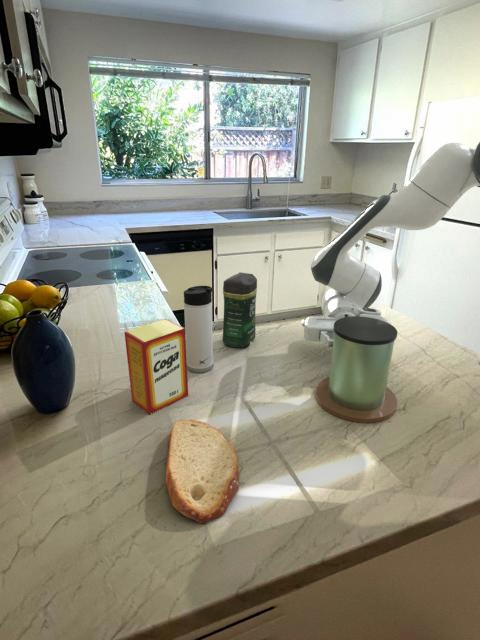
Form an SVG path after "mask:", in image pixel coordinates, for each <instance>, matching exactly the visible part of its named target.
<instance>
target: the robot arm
mask: <svg viewBox="0 0 480 640" xmlns="http://www.w3.org/2000/svg"><path fill="white" fill-rule="evenodd" d="M474 187H477V188H480V141H479V142H478V144H477V145H476V147H475V148H471V147H469V146H468V145H466V144H464V143H459V142H449V143H445V144H443V145H441V146H440V147H439V148H438V149H437V150H436V151H435V152H434V153H433V154H431V155H430V157H428V159H427V160H426V161H425V162H424V163H423V164H422V165H421V166H420V167H419V168H418V169H417V170H416V172H415V173H414V174H413V175H412V177H411V178H410V179H409V180H408V182H407V183H406V184H405V185H404V186H403V187H401V188H400V189H399V190H397V191H396V192H394V193H391V194H382V195H380V196H378V197H377V198H376V199H375V200H373V201H372V202H371V203H370V204H368V205H367V207H366V208H364V209H363V210H362V211H361V212H360V213H359V214H358V215H357V216H356V217H355V218H354V219H353V220H352V221H350V223H349V224H348V225H347V226H346V227H344V229H343V230H342V231H340V232H339V234H338V235H337V236H335V238H333V240H331V241H329V243H328V244H326V245H325V246H324V247H323V248H322V249H320V251H319V252H317V253H316V254H315V256H314V258H313V259H312V262H311V264H310V271H311V275H312V277H313V279H314V281H315V282H317V283H320V284H321V285H324V286H326V287H328V289H327V290H326V291H325V292H324V293H323V295H322V298H321V302H320V303H321V305H320V308H321V313H322V315H310V316H307V317H306V318H305V319H301V323H300V324H301V326H302V327H303V338H304V340H306V341H308V342H321V343H323V344H325V346H326V347H327V348H333V341H334V330H333V326H334V323H335V322H336V321H337V320H338V319H341V318H345V317H352V316H360V317H370V318H375V319H379V320H382V321H385V322H387V323H389V324H391V322H390V321H389V320H388V319H387V318H386V317H384V316H383V315H382V311H381V310H379V309H376V308H370V307H371V306H372V305H373V304H374V303H375V301H376V300H377V299H378V297H379V296H380V293H381V291H382V287H383V283H382V282H383V279H382V275H381V272H380V271H378V270H377V269H375V268H374V267H372V266H371V265H369V264H367V263H365V262H363V261H362V260H360V259H358V258H357V257H355V256H353V255H352V254H350V253H348V252H349V251H350V250H351V249H352V248H353V247H354V246H355V245H356V244H357V243H358V242H359V241H361V240H362V239H363V238H364V237H365V236H366V235H367V234H368V233H369V232H371V231H372V230H374V229H377V228H394V229H400V230H406V231H422V230H426V229H429V228H431V227H434V226H435V225H437V224H438V223H439V222H440V221H441V220H442V219H443V218H444V217H445V216H446V215H447V214H448V212H449V211H450V210H451V209H452V208H453V207H454V205H455V204H456V203H457V202H458V201H459V200H460V199H461V197H462V196H463V195H464V194H466V192H468V191H469V190H471V189H472V188H474ZM391 325H392V324H391Z"/></svg>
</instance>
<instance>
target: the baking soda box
mask: <svg viewBox="0 0 480 640" xmlns="http://www.w3.org/2000/svg"><path fill="white" fill-rule="evenodd" d="M123 332H124V341H125V349H126V359H127V368H128V377H129V387H130V396H131V402H133V403H134V402H135V403H136V404H135V403H134V404H135V405H137V406H138V405H139V406H140V407H139V406H138V407H139V408H140V409H142V410H143V409H144V410H145V411H144V410H143V411H144V412H145V413H147V414H148V413H149V414H148V415H152V414H154V413H156V412H158V411H160V410H162V408H163V409H164V407H165V408H166V406H167V407H168V406H171V405H173V404H174V403H177V402H179V401H181V400H183V399H185V398H187V397H189V383H188V368H187V355H186V335H185V326H181V325H179V324H177V323H175V322H173V321H172V320H170V319H167V318H164V319H159V320H157V321H154V322H151V323H148V324H147V323H145V324H141V325H140V326H137V327H134V328H132V329H129V330H126V331H123ZM159 409H160V410H159ZM157 410H158V411H157ZM155 411H156V412H155ZM153 412H154V413H153ZM151 413H152V414H151Z"/></svg>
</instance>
